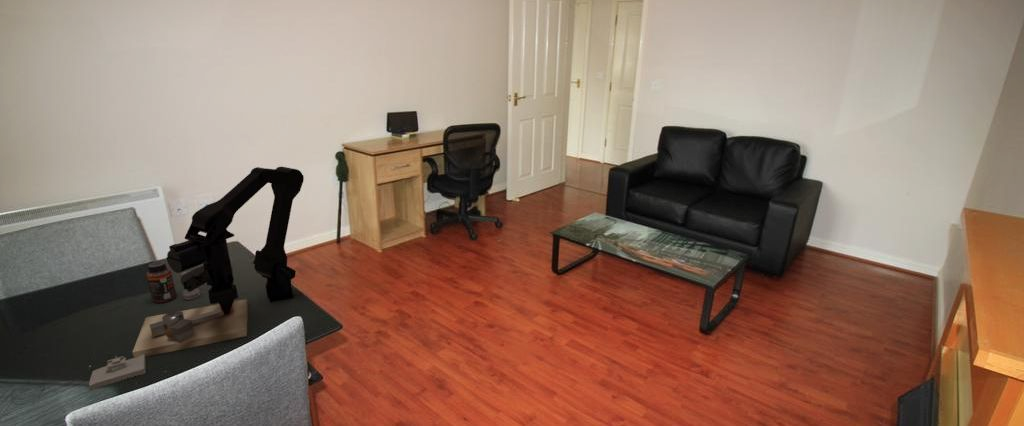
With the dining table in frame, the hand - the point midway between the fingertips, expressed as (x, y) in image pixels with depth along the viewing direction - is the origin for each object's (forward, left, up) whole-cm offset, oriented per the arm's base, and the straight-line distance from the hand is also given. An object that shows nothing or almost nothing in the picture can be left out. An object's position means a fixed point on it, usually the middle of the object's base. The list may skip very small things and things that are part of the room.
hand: (226, 309), depth 133 cm
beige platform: (+22, +13, -5) cm, 26 cm away
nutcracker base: (+7, +1, -4) cm, 8 cm away
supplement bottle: (+17, -22, -4) cm, 28 cm away
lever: (+7, +1, -1) cm, 8 cm away
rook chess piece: (+10, -20, -4) cm, 23 cm away
